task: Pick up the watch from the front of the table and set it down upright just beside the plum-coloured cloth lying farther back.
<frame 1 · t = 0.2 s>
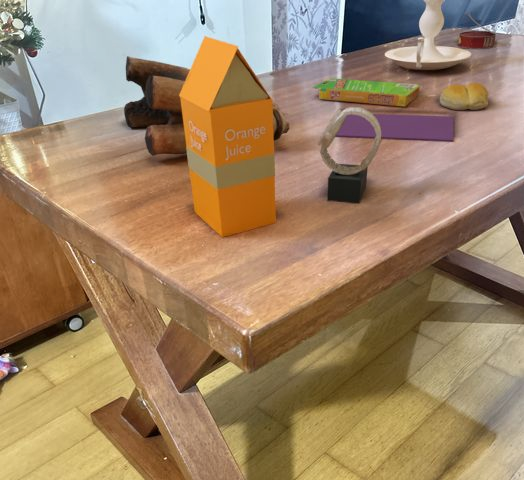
stacked firewood logs: (206, 136, 98), on the table
candlestick: (423, 70, 133), on the table
cloth: (395, 127, 97), on the table
canned food: (475, 46, 155), on the table
bread roll: (463, 106, 107), on the table
game box: (364, 99, 114), on the table
watch: (346, 195, 74), on the table
orange juice: (234, 218, 70), on the table
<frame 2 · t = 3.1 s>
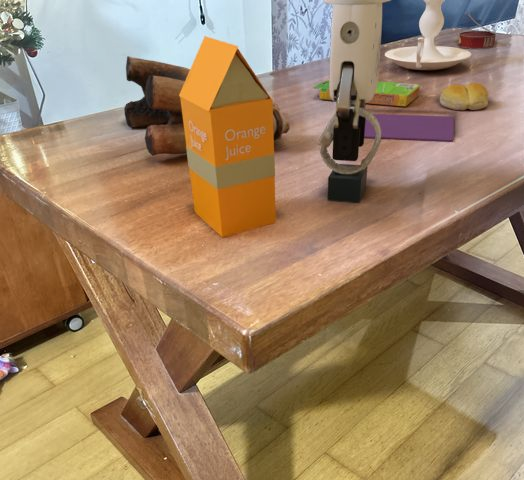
hand: (348, 151, 71), 6 cm above the table, tool pointing down, fingers closed on watch, 4 cm apart
watch: (346, 195, 74), on the table, touching gripper
everything else where it was.
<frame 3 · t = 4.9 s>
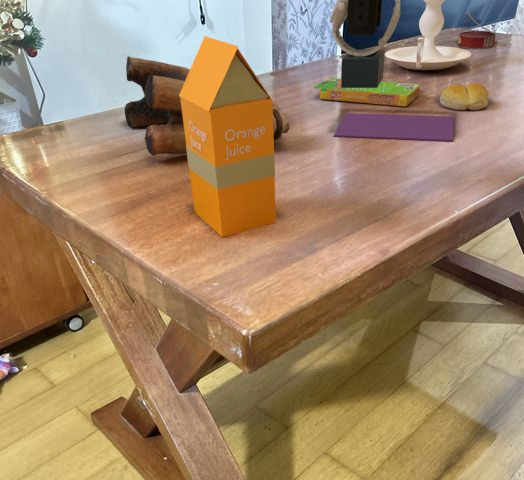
hand: (364, 28, 63), 19 cm above the table, tool pointing down, fingers closed on watch, 4 cm apart
watch: (361, 84, 67), point 13 cm above the table, touching gripper
everything else where it was.
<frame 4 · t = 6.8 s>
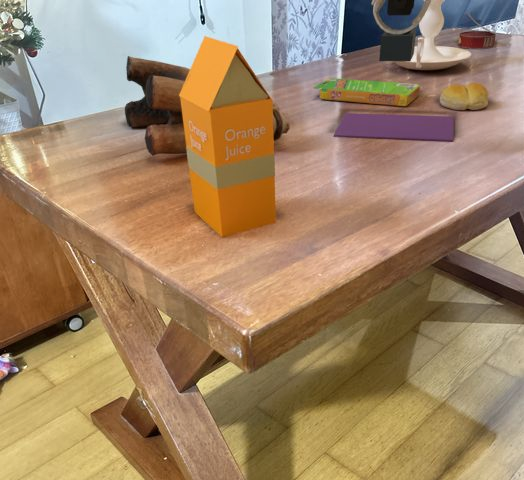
hand: (400, 10, 75), 19 cm above the table, tool pointing down, fingers closed on watch, 4 cm apart
watch: (395, 59, 78), point 13 cm above the table, touching gripper
everything else where it was.
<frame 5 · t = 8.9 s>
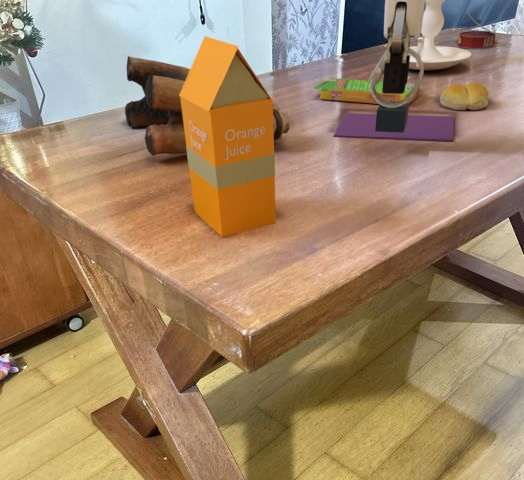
hand: (394, 87, 82), 9 cm above the table, tool pointing down, fingers closed on watch, 4 cm apart
watch: (390, 128, 85), point 3 cm above the table, touching gripper
everything else where it was.
when the fingers open (6 cm above the table, at t = 10.3 s): watch stays where it is, on the table.
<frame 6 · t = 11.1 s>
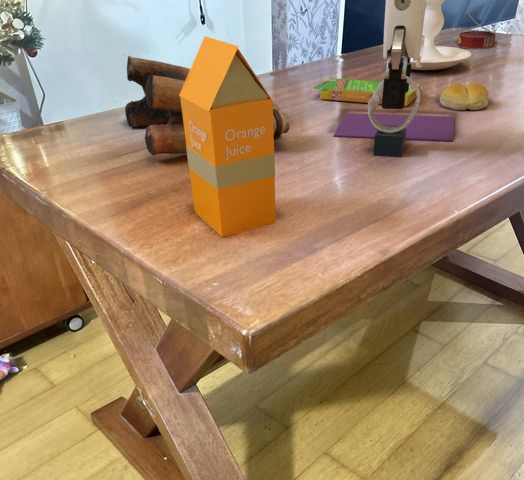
hand: (395, 99, 83), 8 cm above the table, tool pointing down, fingers open, 9 cm apart
watch: (388, 151, 88), on the table
everything else where it was.
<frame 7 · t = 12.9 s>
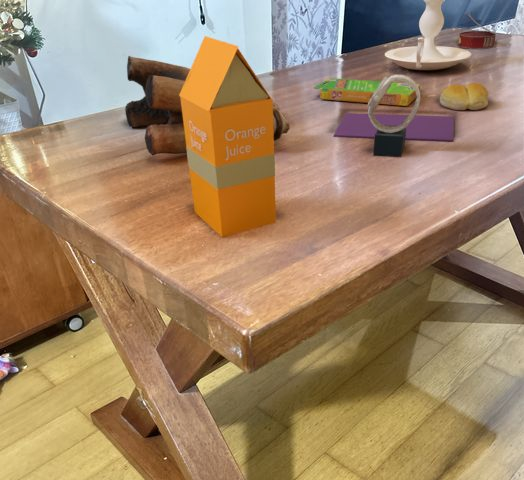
nothing on the table moved.
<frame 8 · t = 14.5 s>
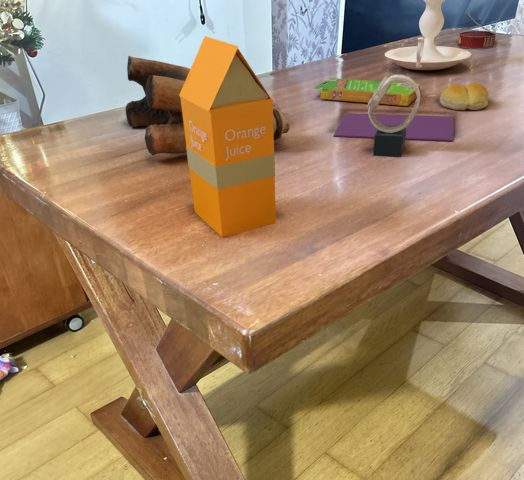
nothing on the table moved.
at the end: watch inside the target area on the table beside the cloth (1.8 cm from its centre), on the table; watch tilted 0°; watch touching table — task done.
